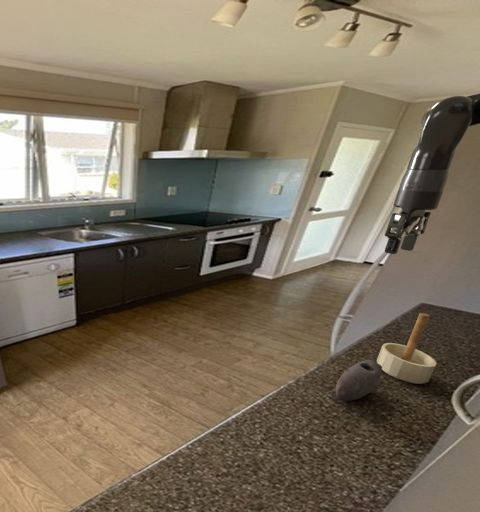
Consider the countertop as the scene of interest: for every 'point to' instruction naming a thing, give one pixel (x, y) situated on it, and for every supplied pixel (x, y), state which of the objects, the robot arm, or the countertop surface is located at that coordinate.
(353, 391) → the perforated stone tool
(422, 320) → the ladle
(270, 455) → the countertop surface
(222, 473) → the countertop surface
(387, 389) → the countertop surface
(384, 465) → the countertop surface
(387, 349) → the bowl
